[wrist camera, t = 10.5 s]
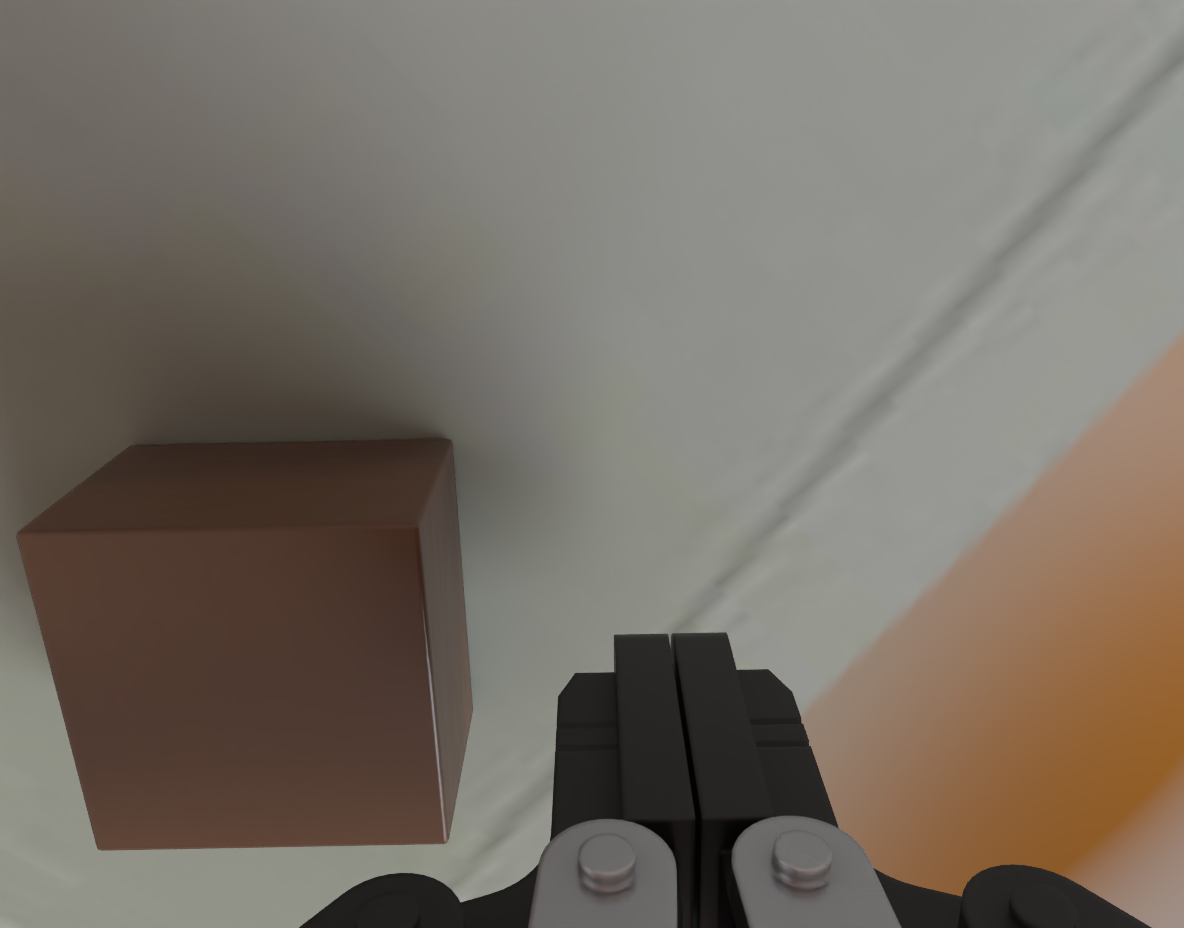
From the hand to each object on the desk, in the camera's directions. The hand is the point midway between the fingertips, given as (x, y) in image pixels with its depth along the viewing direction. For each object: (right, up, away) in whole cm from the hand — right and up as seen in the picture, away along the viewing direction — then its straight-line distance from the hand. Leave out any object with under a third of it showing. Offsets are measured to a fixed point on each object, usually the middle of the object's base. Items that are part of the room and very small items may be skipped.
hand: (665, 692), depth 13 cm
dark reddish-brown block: (-6, +1, +3) cm, 6 cm away
